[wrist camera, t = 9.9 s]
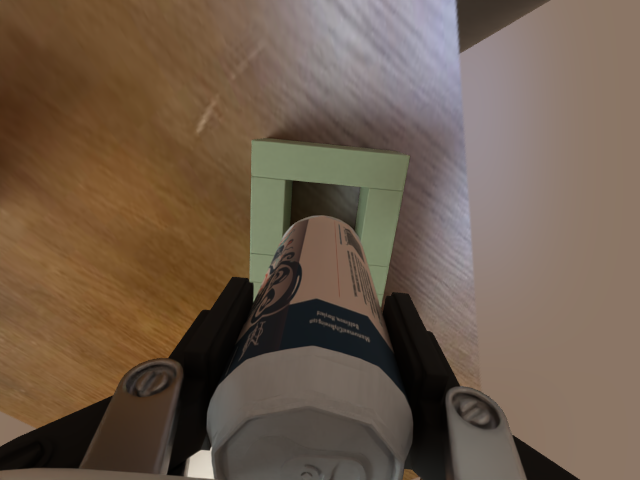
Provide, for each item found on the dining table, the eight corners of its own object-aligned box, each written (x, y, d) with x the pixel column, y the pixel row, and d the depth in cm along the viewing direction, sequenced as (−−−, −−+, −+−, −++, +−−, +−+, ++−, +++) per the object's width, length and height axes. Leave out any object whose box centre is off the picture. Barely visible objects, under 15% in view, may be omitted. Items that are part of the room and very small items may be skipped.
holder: (266, 138, 25) (251, 139, 21) (395, 150, 25) (410, 155, 21) (260, 329, 32) (248, 364, 27) (362, 339, 32) (368, 375, 27)
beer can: (279, 210, 17) (173, 379, 5) (365, 214, 16) (447, 394, 5) (279, 287, 18) (199, 543, 7) (358, 291, 18) (408, 555, 7)
